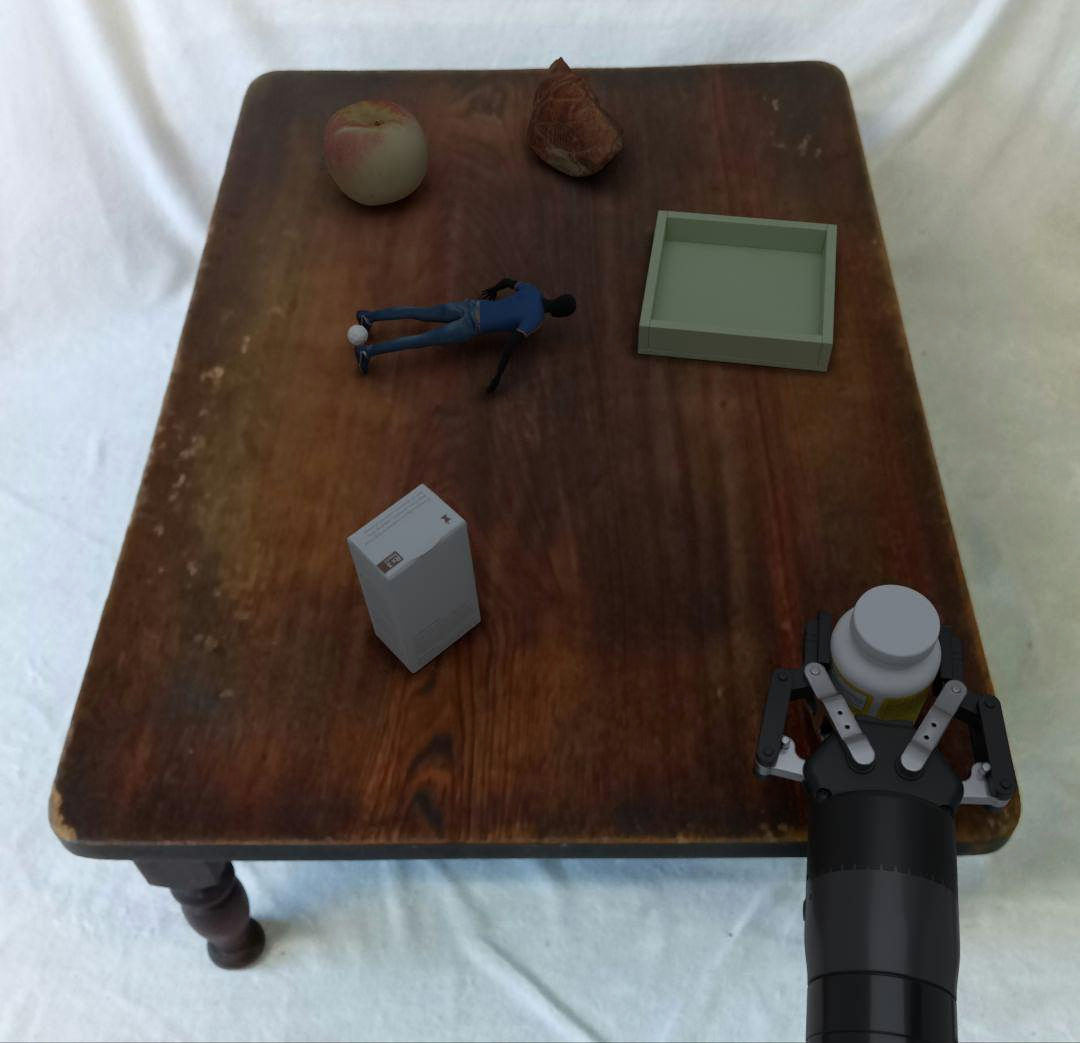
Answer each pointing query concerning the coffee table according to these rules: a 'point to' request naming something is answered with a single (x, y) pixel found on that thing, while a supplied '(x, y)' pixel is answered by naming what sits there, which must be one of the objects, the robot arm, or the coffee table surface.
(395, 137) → the apple
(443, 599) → the cosmetic box
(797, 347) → the tray
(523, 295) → the person figurine
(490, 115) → the coffee table surface
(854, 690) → the pill bottle
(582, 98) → the fossil
